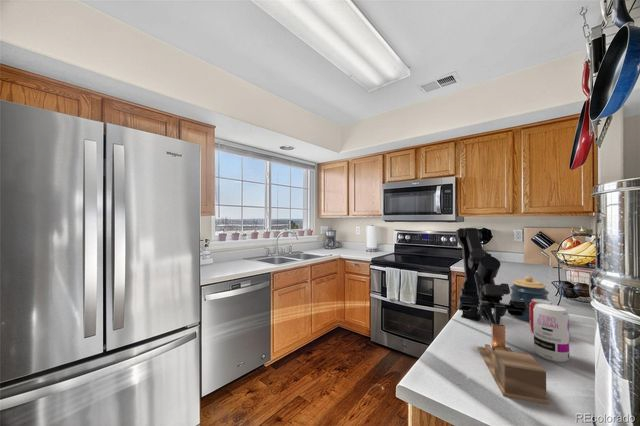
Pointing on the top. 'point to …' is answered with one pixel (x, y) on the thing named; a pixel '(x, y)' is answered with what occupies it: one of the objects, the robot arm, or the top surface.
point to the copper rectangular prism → (498, 337)
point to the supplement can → (551, 332)
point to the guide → (516, 374)
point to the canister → (528, 293)
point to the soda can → (532, 305)
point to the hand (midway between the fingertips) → (496, 331)
